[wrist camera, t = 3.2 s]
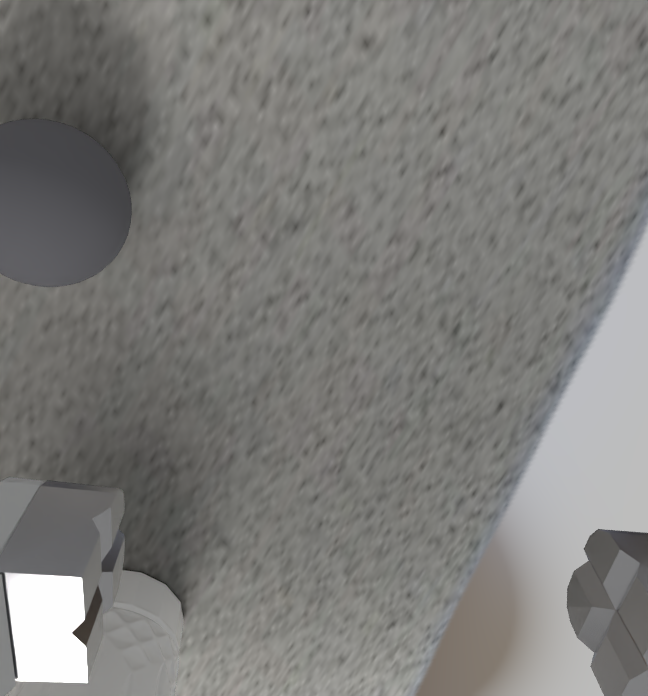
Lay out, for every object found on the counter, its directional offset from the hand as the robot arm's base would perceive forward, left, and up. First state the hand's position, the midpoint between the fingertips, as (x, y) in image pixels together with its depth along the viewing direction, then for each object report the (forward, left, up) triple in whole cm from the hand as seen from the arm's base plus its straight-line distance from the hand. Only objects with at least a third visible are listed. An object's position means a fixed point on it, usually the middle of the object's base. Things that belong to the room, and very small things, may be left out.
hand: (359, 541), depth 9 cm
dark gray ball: (+7, +6, -14) cm, 17 cm away
